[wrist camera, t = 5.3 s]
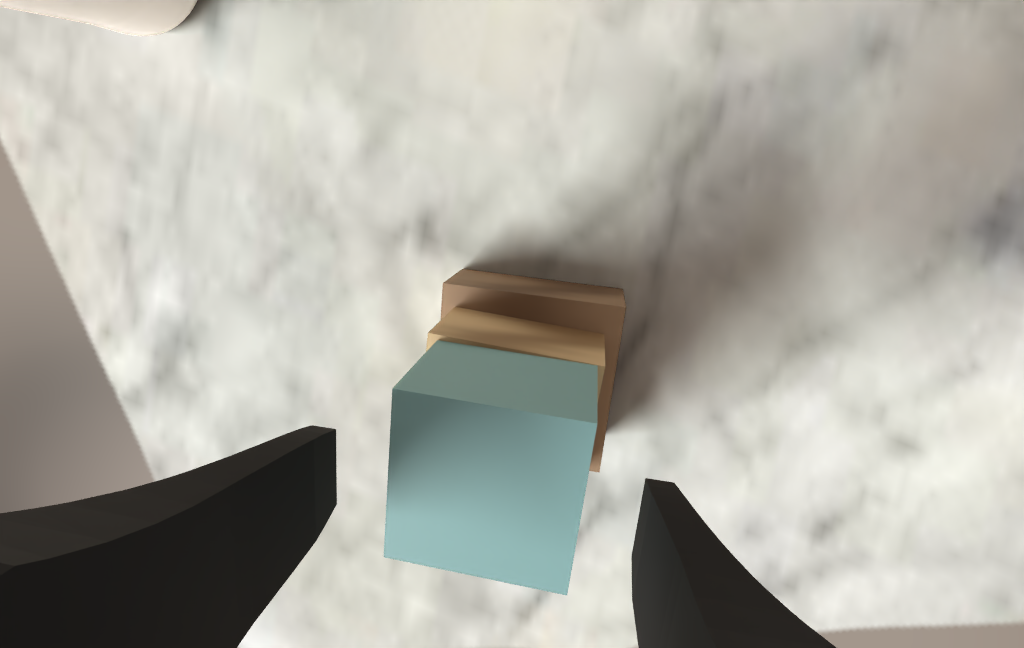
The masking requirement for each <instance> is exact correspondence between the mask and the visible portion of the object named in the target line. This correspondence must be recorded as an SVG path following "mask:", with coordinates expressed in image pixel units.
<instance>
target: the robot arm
mask: <svg viewBox="0 0 1024 648" xmlns="http://www.w3.org/2000/svg"><path fill="white" fill-rule="evenodd" d="M336 504H337V489H336V429H331V428H325V427H318V426H308V427H305V428H301V429H298V430H296V431H293V432H290V433H287V434H285V435H282V436H280V437H277V438H275V439H272V440H270V441H267V442H265V443H262V444H260V445H257V446H255V447H252V448H249V449H247V450H244V451H242V452H239V453H237V454H234V455H232V456H229V457H226V458H224V459H221V460H218V461H215V462H213V463H210V464H207V465H204V466H202V467H199V468H196V469H193V470H190V471H188V472H185V473H182V474H179V475H176V476H172V477H169V478H166V479H163V480H159V481H156V482H152V483H149V484H145V485H142V486H138V487H135V488H131V489H127V490H123V491H118V492H114V493H110V494H105V495H100V496H96V497H91V498H87V499H83V500H78V501H74V502H69V503H63V504H58V505H52V506H46V507H40V508H35V509H28V510H21V511H14V512H7V513H0V648H237V647H238V645H239V644H240V642H241V641H242V639H243V638H244V636H245V635H246V633H247V632H248V631H249V629H250V628H251V626H252V625H253V623H254V622H255V621H256V619H257V618H258V617H259V616H260V614H261V613H262V612H263V610H264V609H265V608H266V606H267V605H268V604H269V602H270V601H271V600H272V599H273V597H274V596H275V595H276V593H277V592H278V591H279V589H280V588H281V587H282V585H283V584H284V583H285V582H286V580H287V579H288V578H289V576H290V575H291V574H292V572H293V571H294V570H295V568H296V567H297V566H298V564H299V563H300V562H301V560H302V559H303V558H304V556H305V555H306V554H307V552H308V551H309V550H310V548H311V547H312V546H313V544H314V543H315V542H316V540H317V538H318V537H319V535H320V533H321V532H322V530H323V528H324V526H325V525H326V523H327V521H328V519H329V517H330V516H331V514H332V512H333V510H334V508H335V506H336ZM632 601H633V609H634V616H635V624H636V631H637V639H638V646H639V648H836V647H835V646H834V645H832V644H831V643H830V642H828V641H827V640H826V639H825V638H823V637H822V636H821V635H819V634H818V633H817V632H815V631H814V630H813V629H812V628H810V627H809V626H808V625H807V624H805V623H804V622H803V621H802V620H801V619H799V618H798V617H797V616H796V615H794V614H793V613H792V612H791V611H790V610H789V609H788V608H786V607H785V606H784V605H783V604H782V603H781V602H780V601H779V600H778V599H777V598H775V597H774V596H773V595H772V594H771V593H770V592H769V591H768V590H767V589H765V588H764V587H763V586H762V585H761V584H760V583H759V582H758V581H757V580H756V579H755V578H754V577H753V576H752V575H751V574H750V573H749V572H748V571H747V570H746V569H745V568H744V566H743V565H742V564H741V563H740V562H739V561H738V560H737V559H736V558H735V557H734V556H733V555H732V554H731V553H730V551H729V550H728V549H727V548H726V547H725V546H724V545H723V544H722V542H721V541H720V540H719V539H718V538H717V537H716V535H715V534H714V533H713V532H712V531H711V529H710V528H709V527H708V526H707V525H706V523H705V522H704V521H703V520H702V518H701V517H700V516H699V514H698V513H697V512H696V511H695V509H694V508H693V507H692V505H691V504H690V503H689V501H688V500H687V499H686V498H685V496H684V495H683V494H682V492H681V491H680V490H679V488H678V487H677V486H676V485H675V483H673V482H666V481H660V480H654V479H647V478H646V479H645V484H644V490H643V495H642V501H641V507H640V512H639V518H638V524H637V529H636V535H635V540H634V546H633V552H632Z"/></svg>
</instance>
